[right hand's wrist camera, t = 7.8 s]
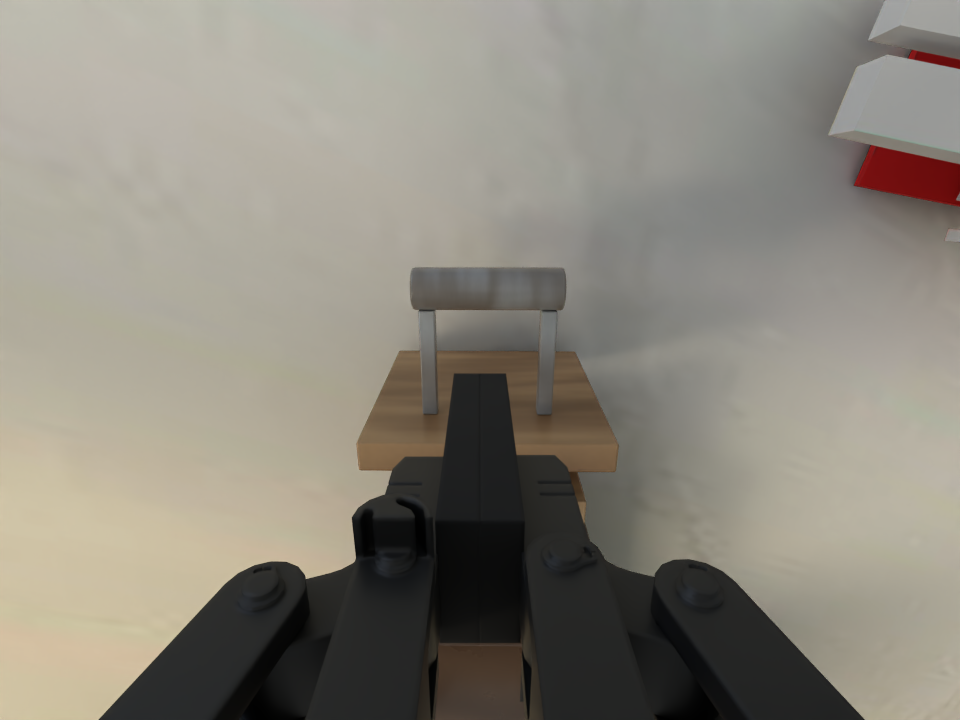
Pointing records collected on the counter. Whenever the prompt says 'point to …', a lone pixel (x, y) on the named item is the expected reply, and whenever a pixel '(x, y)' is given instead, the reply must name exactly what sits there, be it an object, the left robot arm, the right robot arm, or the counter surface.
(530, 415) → the drawer
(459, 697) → the cabinet
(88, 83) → the counter surface
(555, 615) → the right robot arm
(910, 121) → the toy
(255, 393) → the counter surface
